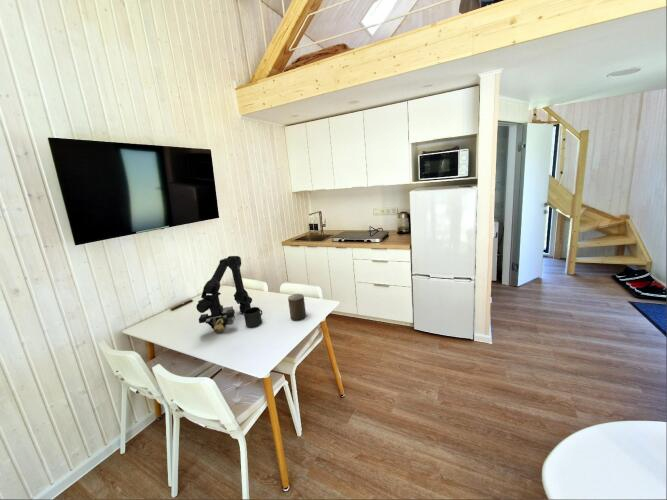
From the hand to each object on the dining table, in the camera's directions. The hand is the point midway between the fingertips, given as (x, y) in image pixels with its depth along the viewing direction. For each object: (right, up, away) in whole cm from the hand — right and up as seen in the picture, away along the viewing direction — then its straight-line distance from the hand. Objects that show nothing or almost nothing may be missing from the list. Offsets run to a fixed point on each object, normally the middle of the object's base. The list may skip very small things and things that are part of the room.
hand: (220, 329), depth 159 cm
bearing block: (-3, +1, +13) cm, 13 cm away
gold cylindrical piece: (-1, -1, +5) cm, 5 cm away
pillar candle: (+45, +4, +10) cm, 46 cm away
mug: (+19, +1, +7) cm, 20 cm away
